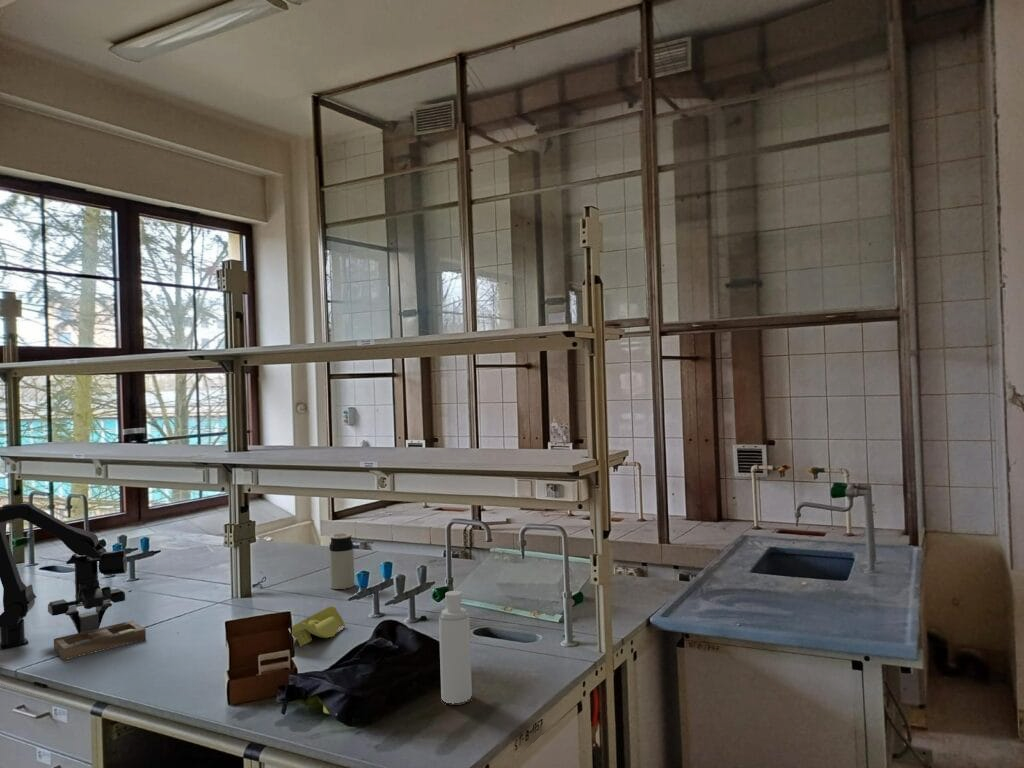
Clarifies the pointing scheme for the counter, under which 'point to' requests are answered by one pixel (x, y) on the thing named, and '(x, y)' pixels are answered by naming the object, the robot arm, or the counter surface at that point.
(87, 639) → the socket bar
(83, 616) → the plug
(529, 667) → the counter surface
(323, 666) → the counter surface
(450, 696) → the white bottle
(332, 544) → the travel mug
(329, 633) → the plastic component
